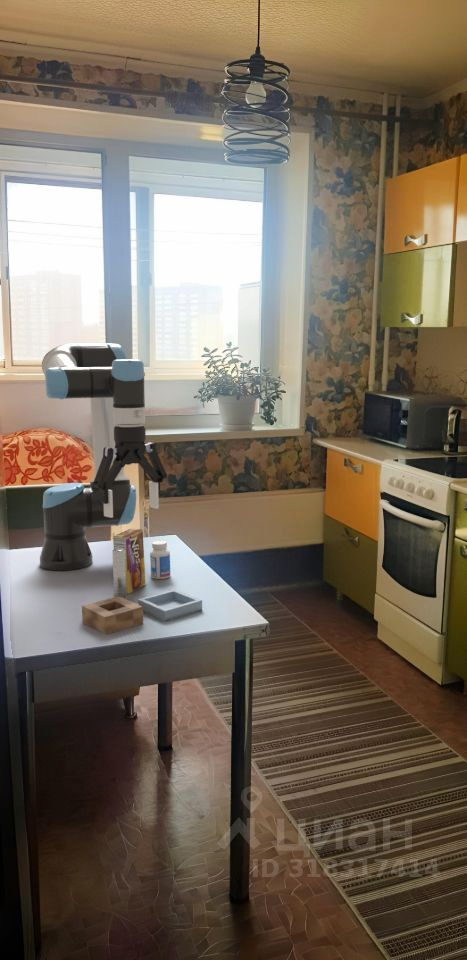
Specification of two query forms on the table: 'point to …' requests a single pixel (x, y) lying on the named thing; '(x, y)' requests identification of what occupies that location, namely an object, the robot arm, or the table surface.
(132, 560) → the candy box
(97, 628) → the bore block
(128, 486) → the robot arm
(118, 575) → the cylinder
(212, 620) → the table surface
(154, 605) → the tray
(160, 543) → the pill bottle
